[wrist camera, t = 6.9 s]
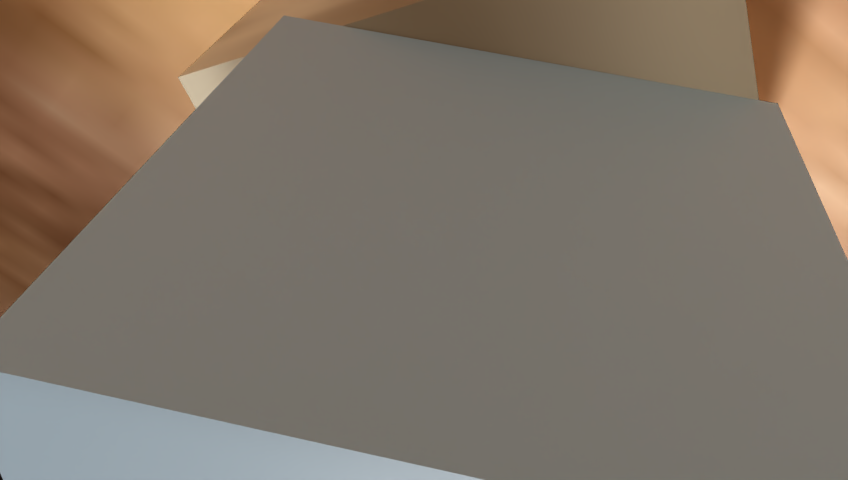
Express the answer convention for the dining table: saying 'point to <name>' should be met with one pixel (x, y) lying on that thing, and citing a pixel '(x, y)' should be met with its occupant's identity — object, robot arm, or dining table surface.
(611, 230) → the blue cube
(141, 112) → the dining table surface
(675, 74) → the birch block
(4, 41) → the dining table surface
